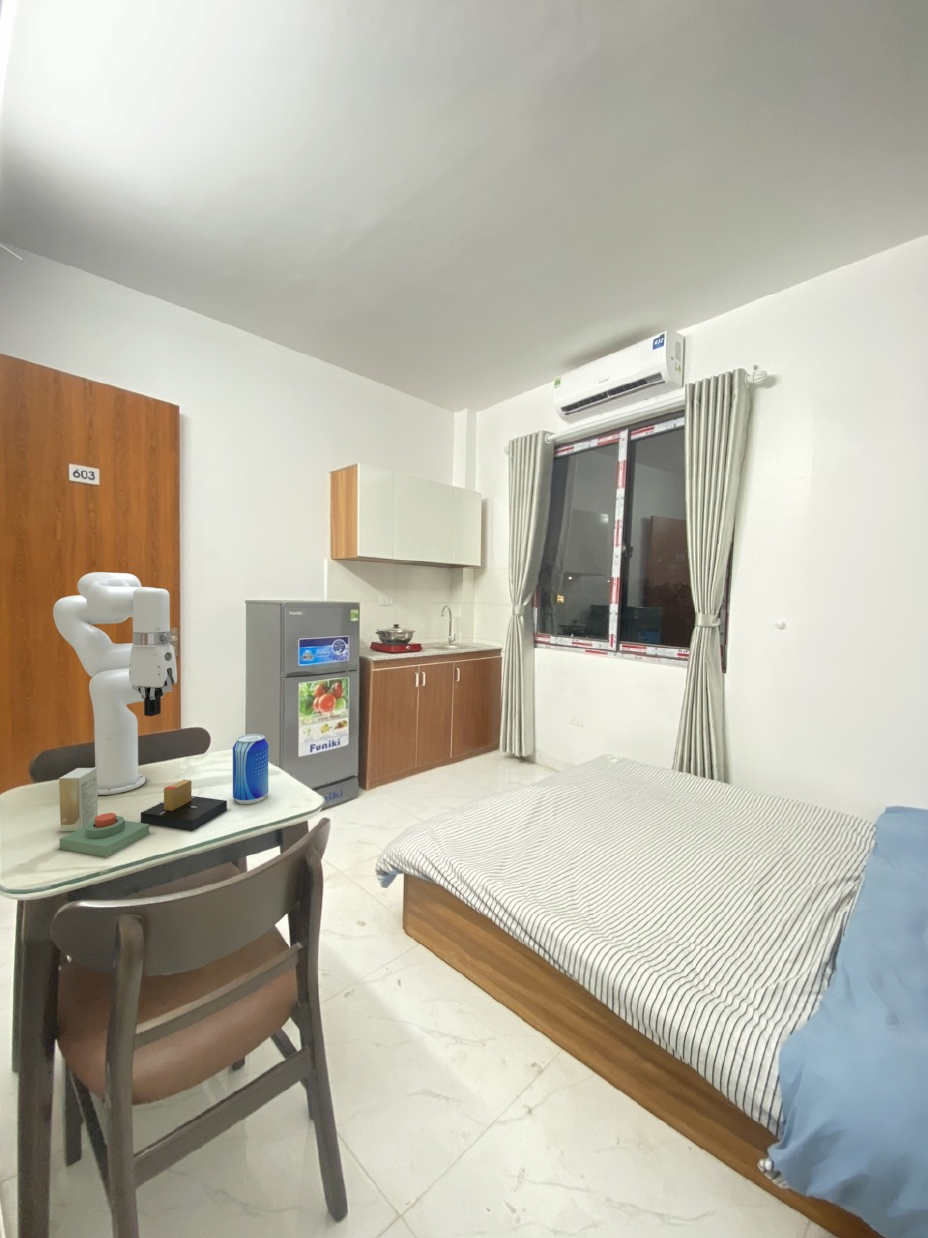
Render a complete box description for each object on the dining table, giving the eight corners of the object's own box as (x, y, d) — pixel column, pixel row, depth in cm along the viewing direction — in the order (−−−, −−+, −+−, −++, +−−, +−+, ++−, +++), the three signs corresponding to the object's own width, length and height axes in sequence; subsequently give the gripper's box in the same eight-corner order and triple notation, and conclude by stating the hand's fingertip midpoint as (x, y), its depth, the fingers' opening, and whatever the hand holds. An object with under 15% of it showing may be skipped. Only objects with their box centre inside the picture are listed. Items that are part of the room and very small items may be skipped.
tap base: (140, 823, 113) (140, 812, 113) (178, 803, 124) (178, 793, 123) (192, 831, 110) (192, 819, 109) (227, 810, 120) (227, 799, 120)
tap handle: (183, 799, 120) (183, 778, 120) (191, 800, 120) (191, 779, 119) (163, 810, 114) (163, 787, 114) (171, 811, 114) (171, 788, 113)
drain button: (90, 827, 103) (90, 819, 103) (106, 819, 107) (106, 812, 106) (104, 829, 102) (104, 821, 102) (120, 822, 106) (120, 814, 106)
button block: (59, 849, 101) (58, 830, 101) (105, 827, 111) (104, 809, 111) (106, 857, 98) (106, 838, 98) (149, 834, 108) (149, 816, 108)
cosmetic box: (79, 819, 114) (78, 767, 114) (99, 818, 115) (98, 767, 114) (58, 832, 108) (57, 777, 107) (79, 832, 108) (78, 777, 108)
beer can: (255, 807, 122) (255, 743, 122) (225, 803, 124) (225, 740, 123) (274, 794, 131) (274, 734, 130) (246, 790, 132) (246, 731, 131)
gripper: (190, 639, 121) (190, 713, 122) (139, 636, 124) (140, 709, 125) (164, 642, 113) (165, 721, 114) (112, 639, 117) (113, 716, 118)
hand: (152, 714), depth 120 cm, fingers closed
